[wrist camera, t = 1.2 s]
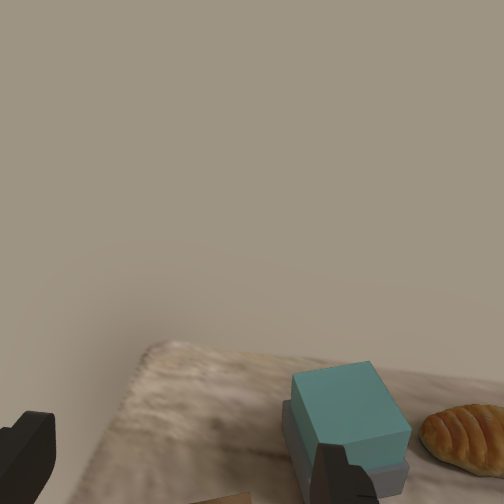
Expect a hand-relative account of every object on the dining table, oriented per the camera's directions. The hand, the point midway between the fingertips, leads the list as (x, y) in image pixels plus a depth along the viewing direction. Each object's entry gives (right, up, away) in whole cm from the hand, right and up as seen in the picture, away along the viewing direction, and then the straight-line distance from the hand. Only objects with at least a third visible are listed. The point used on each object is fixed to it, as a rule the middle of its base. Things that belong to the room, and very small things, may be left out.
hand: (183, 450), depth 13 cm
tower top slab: (+10, -9, +22) cm, 26 cm away
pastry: (+23, -12, +25) cm, 36 cm away
